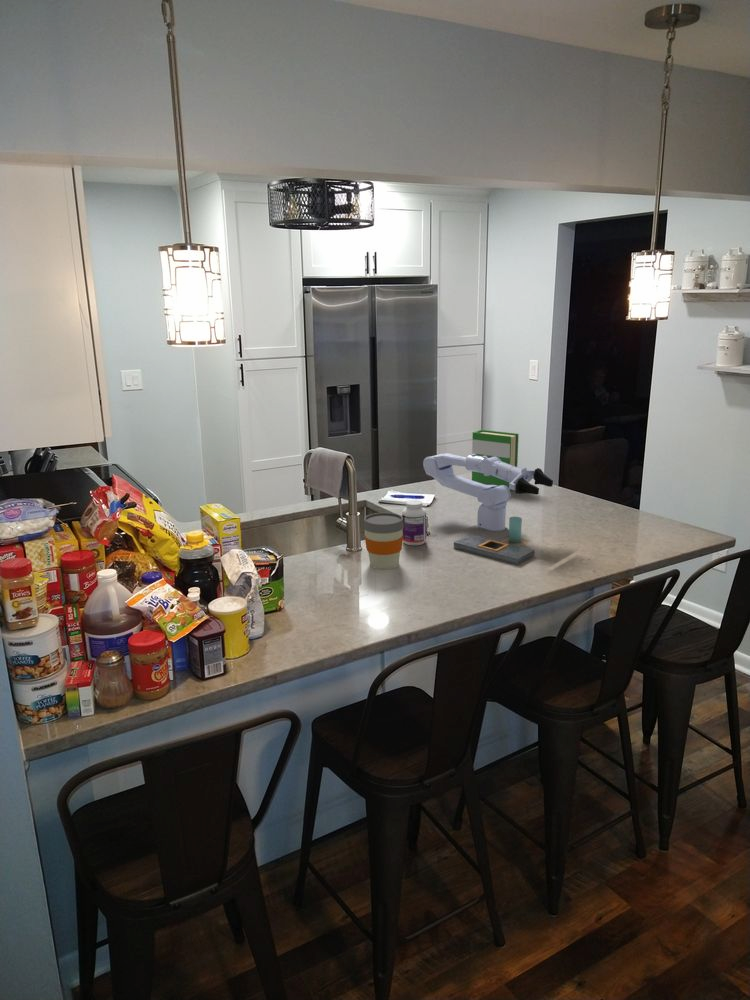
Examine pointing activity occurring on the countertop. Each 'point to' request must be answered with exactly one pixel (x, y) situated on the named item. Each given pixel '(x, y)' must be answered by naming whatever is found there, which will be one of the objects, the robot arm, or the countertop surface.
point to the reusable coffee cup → (383, 539)
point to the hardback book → (494, 452)
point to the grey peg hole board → (499, 552)
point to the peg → (515, 529)
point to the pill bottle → (414, 523)
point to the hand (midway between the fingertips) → (545, 487)
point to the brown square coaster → (523, 541)
